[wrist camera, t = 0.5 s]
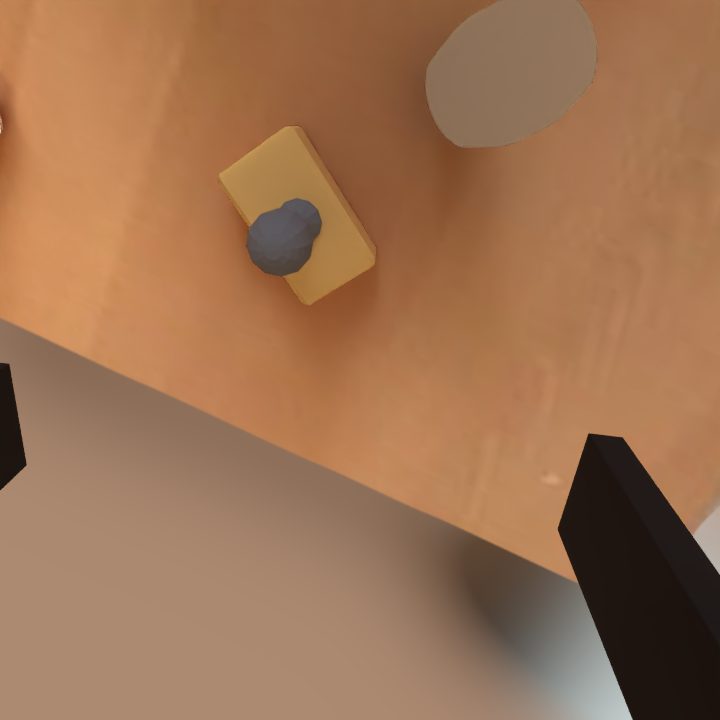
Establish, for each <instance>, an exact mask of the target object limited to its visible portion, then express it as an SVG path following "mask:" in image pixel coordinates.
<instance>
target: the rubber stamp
mask: <svg viewBox="0 0 720 720" xmlns="http://www.w3.org/2000/svg"><path fill="white" fill-rule="evenodd" d="M218 183H219V185H220V186H221V187H222V189H223V190H224V192H225V193H226V195H227V196H228V197H229V199H230V200H231V202H232V203H233V205H234V206H235V208H236V209H237V210H238V212H239V213H240V215H241V216H242V218H243V219H244V220H245V222H246V223H247V225H248V226H249V231H248V238H247V245H246V247H247V249H248V252H249V254H250V257H251V260H252V262H253V263H254V264H255V265H256V266H258V267H259V268H260V269H261V270H262V271H263V272H265V273H267V274H271V275H276V276H280V277H282V276H284V278H285V279H286V281H287V282H288V284H289V285H290V286H291V288H292V289H293V291H294V292H295V294H296V295H297V296H298V298H299V299H300V301H301V302H302V303H303V304H306V305H310V304H312V303H314V302H315V301H317V300H319V299H320V298H322V297H324V296H325V295H327V294H328V293H330V292H332V291H333V290H335V289H337V288H338V287H340V286H342V285H343V284H345V283H346V282H348V281H350V280H351V279H353V278H355V277H356V276H358V275H360V274H361V273H363V272H364V271H366V270H368V269H369V268H371V267H373V266H374V263H375V259H376V251H377V248H376V247H375V245H374V244H373V242H372V240H371V239H370V237H369V235H368V234H367V232H366V231H365V229H364V227H363V226H362V224H361V223H360V221H359V219H358V218H357V216H356V215H355V213H354V211H353V210H352V208H351V207H350V205H349V203H348V202H347V200H346V199H345V197H344V195H343V194H342V192H341V191H340V189H339V187H338V186H337V184H336V182H335V181H334V179H333V178H332V176H331V174H330V173H329V171H328V170H327V168H326V166H325V165H324V163H323V162H322V160H321V158H320V157H319V155H318V154H317V152H316V150H315V149H314V147H313V146H312V144H311V142H310V141H309V139H308V138H307V136H306V134H305V133H304V131H303V130H302V128H301V127H298V126H285V127H284V128H282V129H281V130H280V131H278V132H277V133H275V134H274V135H273V136H271V137H270V138H269V139H267V140H266V141H264V142H263V143H262V144H260V145H259V146H257V147H256V148H255V149H253V150H252V151H251V152H249V153H248V154H246V155H245V156H244V157H242V158H241V159H239V160H238V161H237V162H235V163H234V164H233V165H231V166H230V167H228V168H227V169H226V170H224V171H223V172H221V173H220V174H219V175H218Z"/></svg>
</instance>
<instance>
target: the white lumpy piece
mask: <svg viewBox="0 0 720 720" xmlns="http://www.w3.org/2000/svg"><path fill="white" fill-rule="evenodd" d="M2 124H3V123H2V119H1V116H0V134H1V127H2ZM2 130H3V127H2Z"/></svg>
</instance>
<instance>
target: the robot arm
mask: <svg viewBox="0 0 720 720" xmlns="http://www.w3.org/2000/svg"><path fill="white" fill-rule="evenodd" d="M25 466H26V458H25V453H24V447H23V442H22V436H21V429H20V424H19V418H18V412H17V406H16V401H15V394H14V389H13V383H12V378H11V371H10V366H9V364H5V363H0V490H1V489H2V488H3V487H4V486H5V485H6V484H7V483H8V482H10V481H11V480H12V479H13V478H14V477H15V476H16V475H17V474H18V473H19V472H20V471H21V470H22V469H23V468H24V467H25ZM558 532H559V534H560V537H561V539H562V542H563V544H564V547H565V550H566V552H567V555H568V557H569V560H570V562H571V565H572V567H573V570H574V572H575V575H576V577H577V580H578V582H579V585H580V588H581V590H582V593H583V595H584V598H585V600H586V602H587V605H588V608H589V610H590V613H591V615H592V618H593V620H594V623H595V626H596V628H597V630H598V633H599V636H600V638H601V641H602V643H603V646H604V648H605V651H606V653H607V656H608V658H609V661H610V663H611V666H612V668H613V671H614V674H615V676H616V678H617V681H618V684H619V686H620V689H621V691H622V694H623V696H624V699H625V701H626V704H627V707H628V709H629V712H630V714H631V717H632V719H633V720H720V575H719V573H718V572H717V570H716V569H715V567H714V566H713V565H712V563H711V562H710V560H709V559H708V558H707V556H706V555H705V553H704V552H703V550H702V549H701V548H700V546H699V545H698V543H697V542H696V540H695V539H694V538H693V536H692V535H691V533H690V532H689V531H688V529H687V528H686V526H685V525H684V524H683V522H682V521H681V519H680V518H679V516H678V515H677V514H676V512H675V511H674V509H673V508H672V507H671V505H670V504H669V502H668V501H667V499H666V498H665V497H664V495H663V494H662V492H661V491H660V490H659V488H658V487H657V485H656V484H655V483H654V481H653V480H652V478H651V477H650V475H649V474H648V473H647V471H646V470H645V468H644V467H643V466H642V464H641V463H640V461H639V460H638V458H637V457H636V456H635V454H634V453H633V451H632V450H631V449H630V447H629V446H628V444H627V443H626V442H625V440H624V439H623V437H614V436H606V435H598V434H588V437H587V440H586V443H585V446H584V449H583V452H582V455H581V458H580V461H579V465H578V468H577V471H576V474H575V477H574V480H573V483H572V486H571V489H570V492H569V496H568V499H567V502H566V505H565V508H564V511H563V514H562V517H561V520H560V523H559V526H558Z"/></svg>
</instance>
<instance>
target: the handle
mask: <svg viewBox="0 0 720 720" xmlns="http://www.w3.org/2000/svg"><path fill="white" fill-rule="evenodd" d="M597 60H598V57H597V42H596V37H595V32H594V29H593V26H592V23H591V20H590V18H589V16H588V14H587V12H586V10H585V9H584V7H583V5H582V4H581V3H580V2H579V1H578V0H499V1H497V2H495V3H493V4H491V5H489V6H488V7H486V8H484V9H482V10H480V11H478V12H476V13H475V14H473V15H472V16H470V17H468V18H467V19H466V20H464V21H463V22H462V23H461V24H460V25H459V26H458V27H457V28H456V29H455V30H454V31H453V32H452V33H451V35H450V36H449V37H448V38H447V40H446V41H445V42H444V44H443V45H442V46H441V47H440V49H439V50H438V51H437V53H436V54H435V56H434V57H433V58H432V60H431V61H430V62H429V64H428V65H427V69H426V75H425V95H426V101H427V104H428V108H429V111H430V114H431V116H432V118H433V120H434V122H435V124H436V126H437V127H438V129H439V130H440V132H441V133H442V135H444V136H445V137H446V138H447V139H448V140H449V141H450V142H452V143H453V144H455V145H456V146H458V147H474V148H491V147H501V146H507V145H510V144H513V143H515V142H518V141H520V140H522V139H525V138H527V137H529V136H531V135H533V134H535V133H537V132H539V131H541V130H543V129H545V128H547V127H548V126H550V125H552V124H553V123H555V122H556V121H557V120H558V119H560V118H561V117H562V116H563V115H564V114H565V113H566V112H567V111H568V110H569V109H570V108H571V107H572V106H573V104H574V103H575V102H576V101H577V100H578V99H579V98H580V97H581V95H582V94H583V93H584V92H585V91H586V90H587V89H588V87H589V86H590V85H591V84H592V83H593V79H594V76H595V72H596V66H597Z"/></svg>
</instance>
